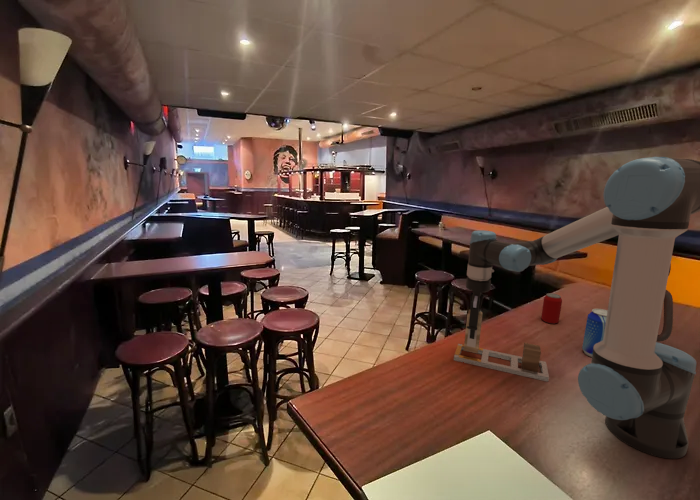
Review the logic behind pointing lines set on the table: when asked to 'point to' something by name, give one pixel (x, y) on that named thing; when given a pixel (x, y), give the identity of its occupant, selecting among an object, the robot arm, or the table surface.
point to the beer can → (594, 330)
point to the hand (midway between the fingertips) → (471, 342)
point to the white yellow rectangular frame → (495, 366)
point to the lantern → (667, 316)
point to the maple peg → (472, 349)
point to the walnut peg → (531, 357)
